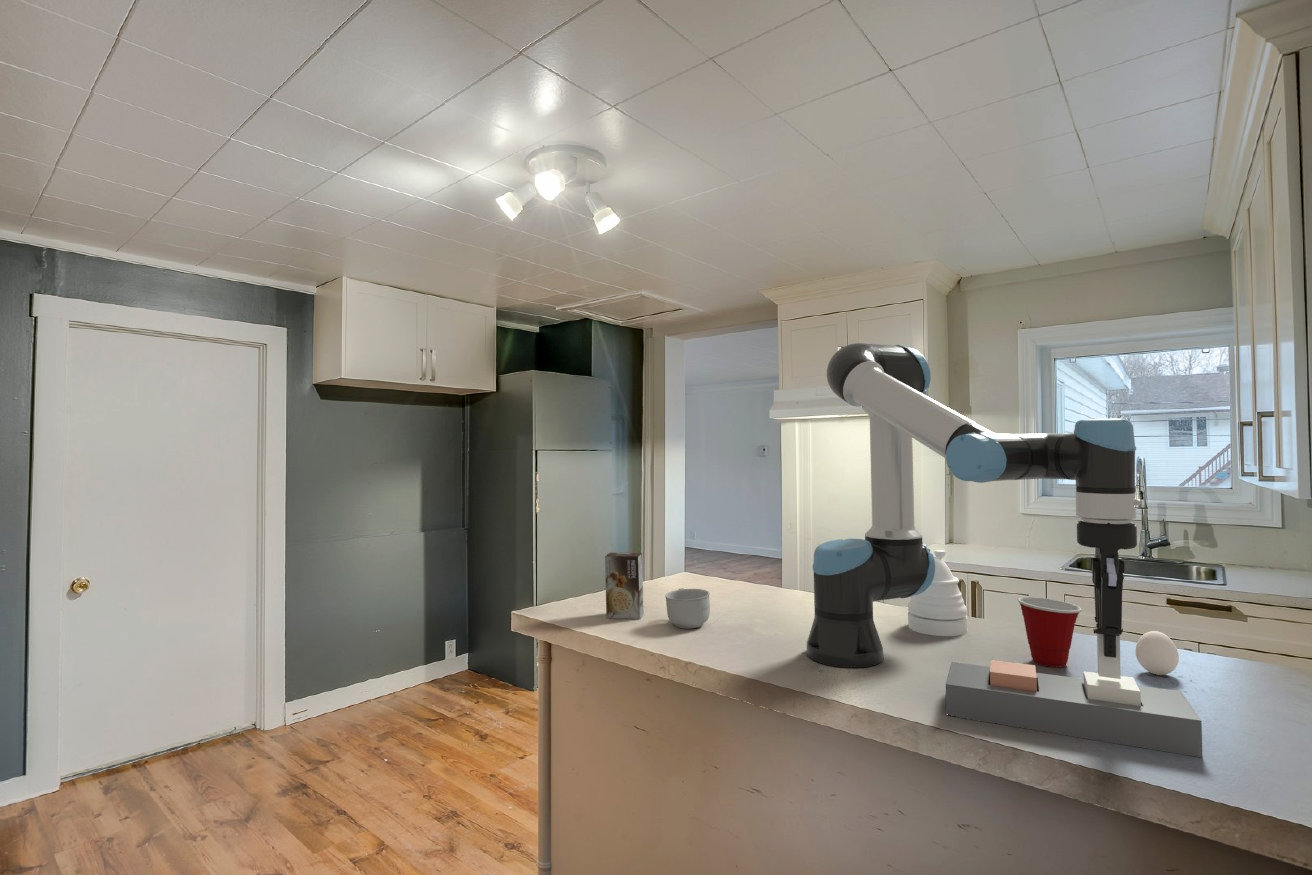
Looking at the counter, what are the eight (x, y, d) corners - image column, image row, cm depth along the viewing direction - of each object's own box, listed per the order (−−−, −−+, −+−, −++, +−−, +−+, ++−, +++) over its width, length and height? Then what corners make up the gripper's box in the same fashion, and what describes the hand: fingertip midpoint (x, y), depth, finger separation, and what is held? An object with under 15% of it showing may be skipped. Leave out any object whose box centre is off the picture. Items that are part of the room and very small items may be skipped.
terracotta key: (990, 696, 104) (990, 671, 104) (991, 683, 109) (991, 659, 109) (1037, 703, 101) (1036, 677, 101) (1035, 690, 106) (1035, 665, 106)
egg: (1127, 669, 124) (1126, 627, 124) (1158, 667, 125) (1157, 626, 125) (1156, 681, 118) (1154, 636, 118) (1188, 679, 118) (1187, 635, 118)
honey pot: (926, 618, 163) (924, 546, 163) (978, 629, 153) (976, 551, 153) (897, 627, 155) (895, 551, 155) (950, 639, 145) (948, 558, 145)
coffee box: (644, 613, 172) (643, 552, 173) (640, 619, 166) (639, 556, 166) (610, 612, 174) (610, 551, 174) (605, 618, 167) (604, 555, 168)
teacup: (711, 631, 154) (711, 597, 154) (665, 632, 154) (665, 598, 155) (707, 616, 168) (707, 585, 168) (665, 616, 168) (665, 585, 168)
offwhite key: (1088, 711, 98) (1087, 684, 98) (1084, 696, 103) (1083, 671, 103) (1141, 719, 94) (1140, 691, 95) (1133, 703, 100) (1133, 677, 100)
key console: (946, 715, 104) (945, 683, 104) (952, 690, 115) (951, 661, 115) (1202, 757, 89) (1201, 720, 89) (1182, 724, 100) (1181, 691, 100)
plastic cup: (1094, 673, 122) (1092, 609, 122) (1030, 670, 124) (1028, 607, 124) (1069, 655, 132) (1067, 596, 133) (1011, 653, 135) (1010, 594, 135)
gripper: (1144, 526, 92) (1147, 695, 92) (1129, 516, 103) (1132, 666, 103) (1080, 524, 95) (1083, 686, 95) (1073, 515, 107) (1075, 659, 107)
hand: (1109, 675), depth 99 cm, fingers closed
